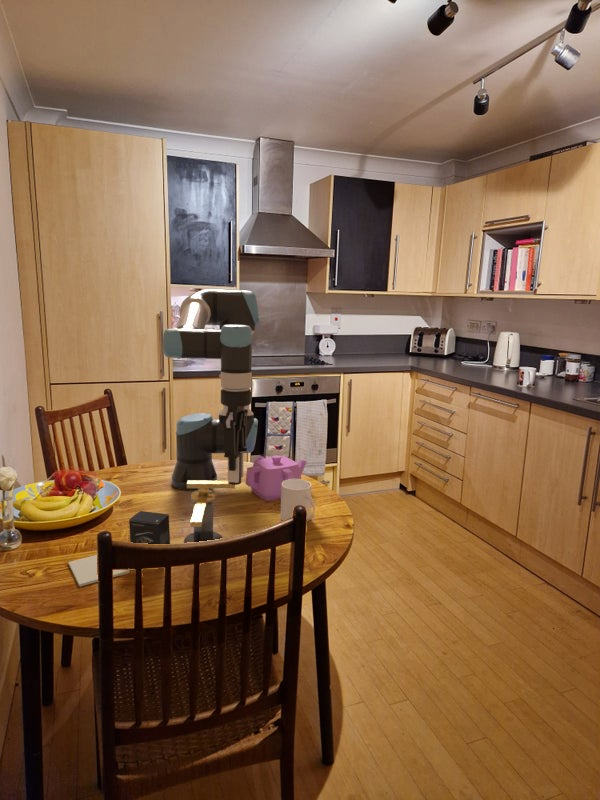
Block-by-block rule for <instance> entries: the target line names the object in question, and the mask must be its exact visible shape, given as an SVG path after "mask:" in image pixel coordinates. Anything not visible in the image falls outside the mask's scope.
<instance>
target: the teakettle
mask: <svg viewBox="0 0 600 800" xmlns="http://www.w3.org/2000/svg"><path fill="white" fill-rule="evenodd" d="M306 465H307V460H304V459H300V460H299V462H296V461H294V460H293V459H291V458H289V457H287V456H285V455H271V456H270V457H264V456H258V457H257V459H256V460H254V461H253V464H252V466H251V467H246V474H245V485H246V486H247V487H250V489H251V491H252V493H254V494H255V493H256V494H257V495H256V494H255V495H256V496H258V497H259V498H260V497H261V498H260V499H262V500H263V499H264V500H263V501H265V502H271V501H278V500H281V487H282V482H283V481H285V480H288V479H302V474H303V471H304V469H305V467H306Z"/></svg>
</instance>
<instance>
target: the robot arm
mask: <svg viewBox="0 0 600 800" xmlns="http://www.w3.org/2000/svg"><path fill="white" fill-rule="evenodd" d="M179 316H180V317H179V318H178V319H179V320H178V322H177V325H176V326H175V328H174V327H173V328H166V329H165V330H164V331H163V334H162V335H163V337H162V347H163V348H162V349H163V354H164V356H165V357H166V358H170V359H171V358H172V359H177V360H178V359H179V360H180V359H192V360H193V359H201V360H202V359H203V360H204V359H205V360H206V359H211V360H220V374H218V378H220V387H221V389H220V404H221V405H222V406H223V409H221V410H220V412H219V413H218V418H213V416H212V414H211V413H208V412H207V413H205V412H199V413H197V412H196V413H192V414H187V415H185V416H181V417H180V418H179V419H178V420H177V421H176V427H175V435H176V439H175V440H176V462H175V466H174V469H173V471H172V474H171V486H172V487H173V488H175V489H178V490H181V491H190V492H191V491H192V492H194V491H197V490H199V488H187V482H188V481H218V475H217V471H216V468H215V465H214V462H213V454H216V455H217V454H224V455H223V457H224V458H227V481H228V482H235V483H238V482H239V457H238V452H239V453H242V474H241V478H243V477H244V454H249V453H252V452H253V451H254V450H255V445H256V440H257V436H258V435H257V434H258V424H259V420H258V418H256V417H254V412H253V411H252V410H251V409H250V405H251V404H252V390H251V389H250V388H252V385H253V383H252V382H253V380H252V377H253V376H252V374H253V373H252V369H253V368H252V360H253V358H252V357H253V353H252V352H253V334H255V331H256V329H255V328H258V327H259V326H260V316H259V305H258V299H257V296H256V293H255V292H254V291H251V290H245V289H217V288H216V289H214V288H213V289H212V288H209V289H207V288H206V289H202V290H199V291H196V292H194V293H192V294H190V295H188V296H187V297H186V298H185V299H184V300H183V301H182V302H181V305H180V307H179ZM206 326H218V327H219V329H206Z"/></svg>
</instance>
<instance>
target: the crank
mask: <svg viewBox="0 0 600 800" xmlns="http://www.w3.org/2000/svg"><path fill="white" fill-rule="evenodd" d="M238 457H239V482H238V483H235V482H228V480H217V481H188V482H187V488H199V490H196V491H192V493H191V495H190V496H191V498H190V499H191V501H192V502H196V505H195V508H194V507H193V512H192V514H191V515H192V516H191V519H190V526H189V527H191V528H194V527H201V526H202V521H203V517H204V513H205V509H206V505H207V503H209V502H212V501H213V502H214V501H215V500H216V492H215V491H214V490H210V489H230V490H231V489H236V486H237V485H240V484H242V477H241V474H242V453H239V452H238Z"/></svg>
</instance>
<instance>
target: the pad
mask: <svg viewBox="0 0 600 800" xmlns="http://www.w3.org/2000/svg"><path fill="white" fill-rule="evenodd" d="M97 555H98V554H95V555H91V556H88V557H87V556H86V557H82V558H80V559H75V560H71V561H68V567H69V568H70V571H71V572H72V574H73V576H74V579H75V581H76V583H77V585H78V587H79V588H81V587H83V586H88V585H91V584H94V583H98V582H99V581H98V575H97ZM130 573H131V570H130V569H129V570H114V571H113V578H115V577H119V576H123V575H126V574H130Z"/></svg>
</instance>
